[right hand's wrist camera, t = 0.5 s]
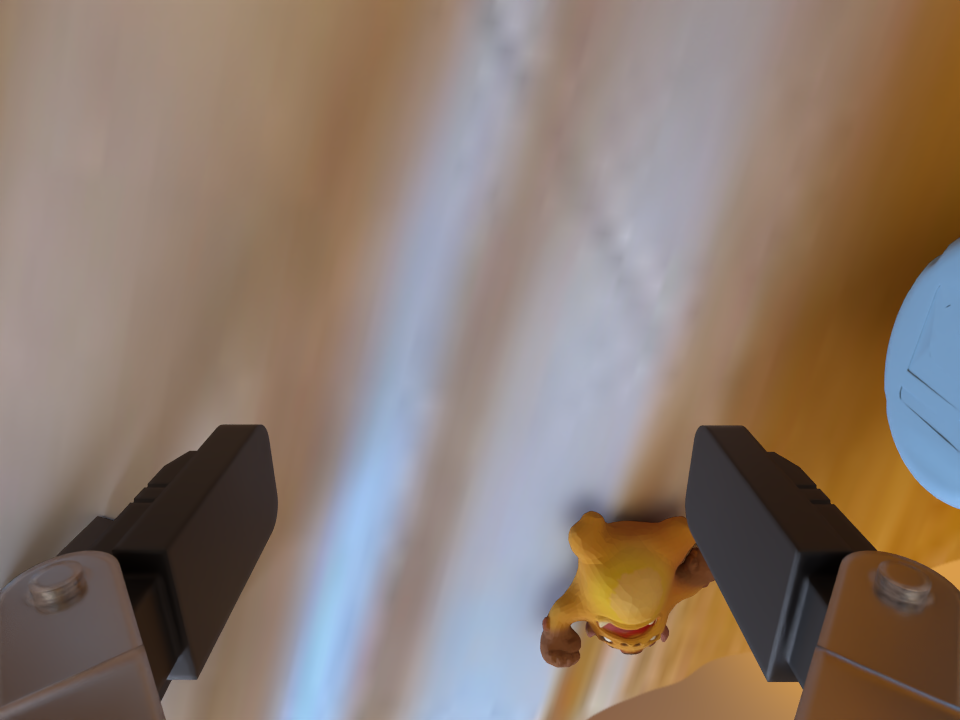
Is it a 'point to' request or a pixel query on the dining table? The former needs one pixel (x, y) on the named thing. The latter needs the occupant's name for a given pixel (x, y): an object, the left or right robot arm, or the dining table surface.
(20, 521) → the dining table surface
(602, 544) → the toy
